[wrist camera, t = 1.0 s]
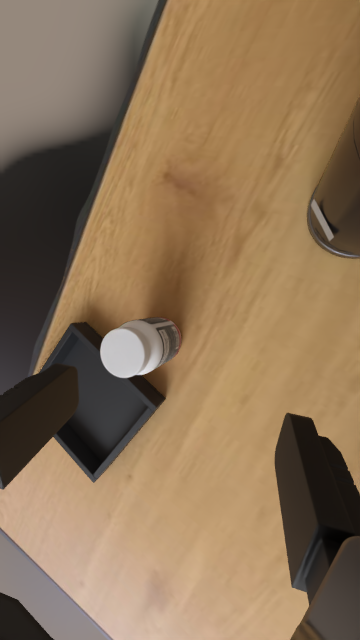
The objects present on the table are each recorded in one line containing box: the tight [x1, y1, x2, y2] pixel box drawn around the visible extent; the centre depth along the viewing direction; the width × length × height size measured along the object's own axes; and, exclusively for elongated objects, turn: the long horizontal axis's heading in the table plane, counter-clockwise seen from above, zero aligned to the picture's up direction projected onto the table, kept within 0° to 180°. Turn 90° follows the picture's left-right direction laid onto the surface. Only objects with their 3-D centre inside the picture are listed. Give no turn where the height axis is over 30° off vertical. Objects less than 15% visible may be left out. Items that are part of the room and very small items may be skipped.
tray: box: [39, 322, 165, 483], centre depth 35 cm, size 15×16×3 cm
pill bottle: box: [100, 317, 181, 378], centre depth 28 cm, size 6×6×10 cm
